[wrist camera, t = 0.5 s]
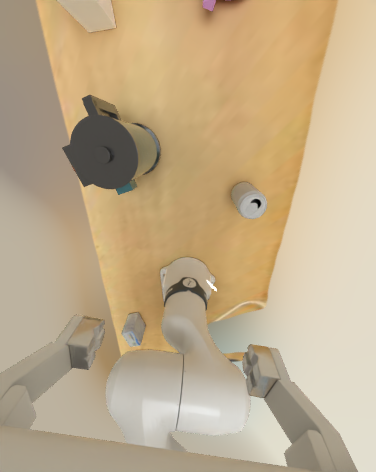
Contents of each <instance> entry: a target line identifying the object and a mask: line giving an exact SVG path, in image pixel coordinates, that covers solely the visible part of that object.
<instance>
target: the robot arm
mask: <svg viewBox="0 0 376 472" xmlns="http://www.w3.org/2000/svg"><path fill="white" fill-rule="evenodd" d="M164 274H165V275H164ZM160 275H161V284H162V293H163V301H164V307H165V309H164V314H163V319H162V324H161V329H162V333H163V335H164V337H165V339H166V341H167V342H168V343H169V344H170V345H171V346H172V347H173V348H175V349H176V350H177V351H178V352H179V353H173V352H166V351H159V350H152V349H148V350H136V351H128V352H126V353H125V354H124V355H122V356H121V357H120V358H119V360H118V361H117V362H116V363H115V365H114V367H113V368H112V370H111V373H110V375H109V377H108V381H107V385H106V403H107V408H108V411H109V413H110V415H111V416H112V417H113V419H114V420H115V421H116V423H117V424H118V425H119V427H120V429H121V431H122V433H123V434H124V437H125V440H126V442H127V443H120V442H114V441H107V440H100V439H93V438H86V437H79V436H72V435H65V434H58V433H52V432H45V431H38V430H31V429H30V427H31V425H32V424H33V422H34V420H35V418H36V413H35V410H34V407H33V405H32V403H33V402H34V401H35V400H36V399H37V398H39V397H40V396H41V395H42V394H43V393H44V392H46V391H47V390H48V389H49V388H50V387H51V386H52V385H54V384H55V383H56V382H57V381H58V380H59V379H60V378H62V377H63V376H64V375H65V374H66V373H67V372H69V371H70V370H71V369H72V368H78V369H87V370H89V368H90V367H91V364H92V362H93V360H94V358H95V351H96V350H97V349H99V348H100V346H101V344H102V341H103V338H104V334H105V329H104V328H103V326H104V324H105V321H104V320H103V319H98V318H93V317H88V316H82V315H77V314H76V315H75V316H74V317H72V319H71V320H70V322H69V323H68V324H67V326H66V327H65V329H64V330H63V331H62V333H61V334H60V335H59V337H58V338H57V340H56V341H55V342H54V343H53V342H51V343H49V344H48V345H46V346H44V347H43V348H41V349H39V350H38V351H36V352H35V353H33V354H31V355H30V356H28V357H26V358H25V359H23V360H22V361H20V362H18V363H17V364H15V365H13V366H12V367H10V368H8V369H7V370H5V371H4V372H2V373H0V472H358V471H357V469H356V467H355V465H354V463H353V461H352V459H351V456H350V454H349V452H348V450H347V448H346V447H345V444H344V442H343V440H342V438H341V436H340V434H339V433H338V431H337V430H336V429H335V428H334V427H333V426H332V425H331V424H330V423H329V421H328V420H327V419H326V418H325V417H324V416H323V415H322V413H321V412H320V411H319V410H318V409H317V408H316V407H315V405H314V404H313V403H312V402H311V401H310V400H309V399H308V398H307V397H306V396H305V394H304V393H303V392H302V391H301V390H300V389H299V388H298V386H297V385H296V384H295V383H294V382H291V380H290V378H289V375H288V373H287V370H286V368H285V365H284V363H283V360H282V358H281V355H280V353H279V351H278V349H276V348H268V347H265V346H258V345H252V344H250V345H249V346H248V352H246V353H245V354H244V356H243V371H244V373H245V374H246V375H247V379H245V377H244V375H243V374H242V372H241V370H240V369H239V368H238V367H237V366H236V365H234V364H233V363H232V362H231V361H230V360H228V359H227V358H226V357H225V356H224V355H223V354H222V352H221V351H220V350H219V349H218V347H217V346H216V345H215V343H214V341H213V340H212V338H211V336H210V334H209V331H208V326H207V319H206V310H207V299H208V300H209V298H210V295H211V288H213V289H214V290H215V291H217V290H216V288H215V287H214V286H213V284H214V282H215V277H214V276H213V275H212V274H211V273H210V272H209V270H208V268H207V267H206V265H205V264H204V263H203V262H201V261H200V260H198V259H195V258H191V257H184V258H179V259H177V260H175V261H173V262H172V263H171V264H170V265H169V266H166V267H163V268H162V269H161V270H160ZM250 396H255V397H260V398H265V399H264V400H265V402H266V403H267V405H268V406H269V408H270V410H271V411H272V413H273V414H274V416H275V417H276V419H277V421H278V422H279V424H280V426H281V427H282V429H283V430H284V432H285V434H286V435H287V437H288V438H289V440H290V442H291V443H292V445H291V446H290V447H289V448H288V449H287V450H286V451H285V453H284V454H285V458H286V462H287V466H288V467H285V466H278V465H272V464H265V463H257V462H251V461H244V460H237V459H231V458H224V457H217V456H210V455H203V454H196V453H189V452H187V451H186V449H185V448H184V447H182V446H181V445H180V444H179V443H178V442H177V441H176V440H175V439H174V438H173V437H172V435H171V433H170V432H174V431H180V432H187V433H195V434H203V435H210V436H218V435H226V434H231V433H236V432H240V431H241V430H242V429H243V428H244V426H245V424H246V422H247V419H248V417H249V412H250Z"/></svg>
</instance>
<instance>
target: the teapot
mask: <svg viewBox="0 0 376 472" xmlns="http://www.w3.org/2000/svg"><path fill="white" fill-rule="evenodd" d="M227 1H229V0H227ZM215 3H216V0H203V8H205V9H208V10H210V11H213V9H214V6H215Z"/></svg>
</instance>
